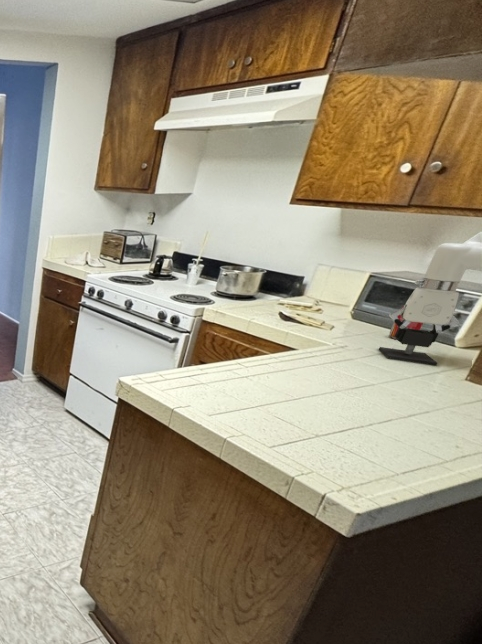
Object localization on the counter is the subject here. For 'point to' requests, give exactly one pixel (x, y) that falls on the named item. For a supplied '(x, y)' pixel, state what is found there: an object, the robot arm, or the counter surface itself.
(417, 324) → the soda can
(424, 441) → the counter surface
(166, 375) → the counter surface
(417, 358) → the base pad
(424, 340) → the top pad
